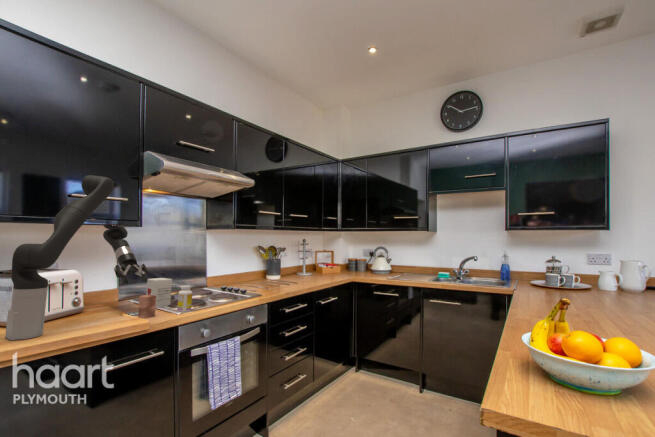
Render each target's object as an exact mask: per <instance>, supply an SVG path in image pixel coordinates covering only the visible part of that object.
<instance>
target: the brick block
mask: <svg viewBox="0 0 655 437" xmlns="http://www.w3.org/2000/svg"><path fill="white" fill-rule="evenodd" d="M138 298H139V299H138V300H139V301H138V310H137V311H138V316H137V317H138V318H141V319H148V318H155V317H156V309H157V308H156V296H155V295H146V294H145V295H143V294H142V295H139V297H138Z"/></svg>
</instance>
